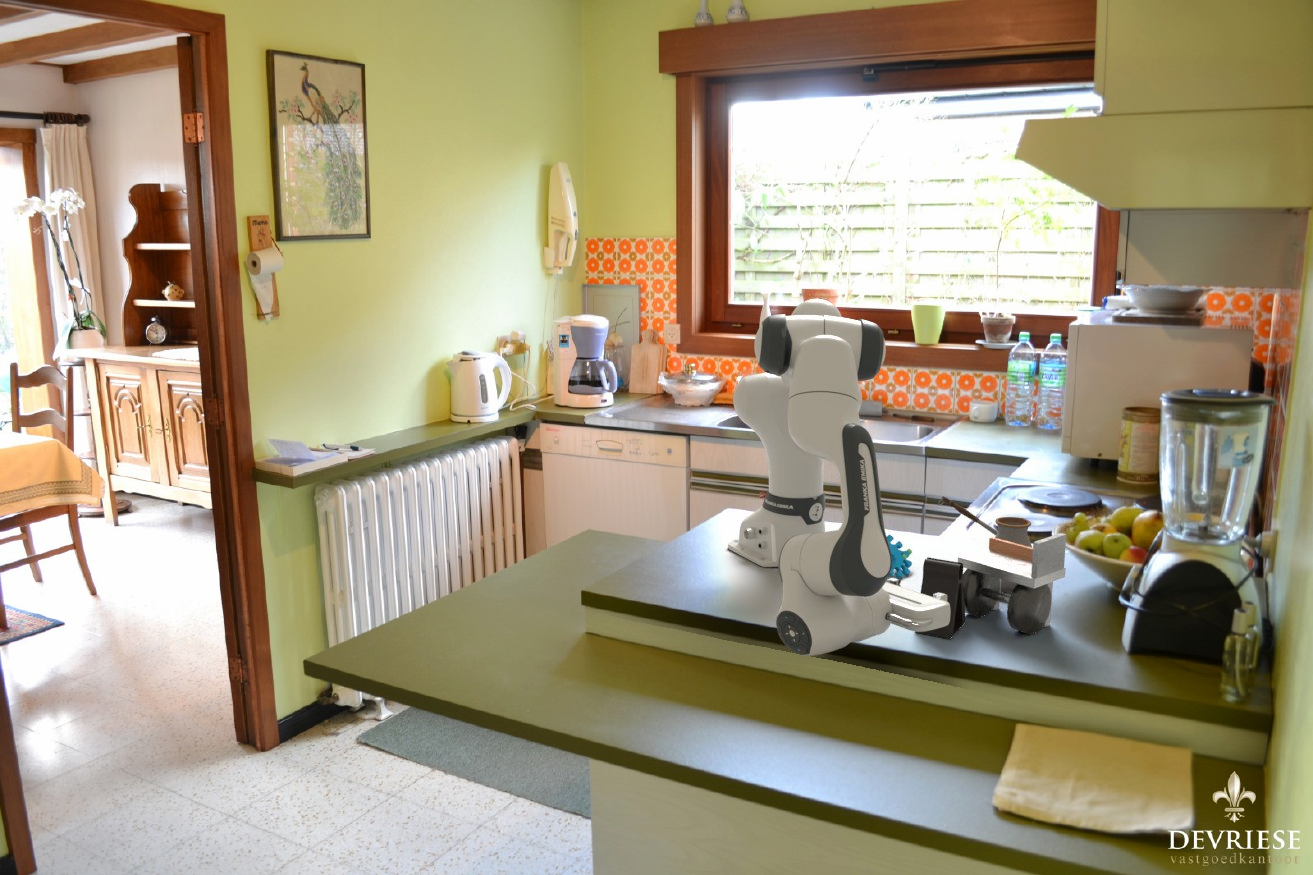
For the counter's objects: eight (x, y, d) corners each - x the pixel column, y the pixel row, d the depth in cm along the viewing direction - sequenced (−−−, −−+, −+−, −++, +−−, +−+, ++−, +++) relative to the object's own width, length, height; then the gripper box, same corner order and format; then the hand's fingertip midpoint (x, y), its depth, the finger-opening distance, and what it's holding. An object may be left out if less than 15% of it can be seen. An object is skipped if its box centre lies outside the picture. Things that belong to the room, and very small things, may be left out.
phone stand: (949, 640, 169) (952, 571, 166) (914, 632, 172) (917, 565, 170) (965, 622, 176) (969, 556, 174) (931, 616, 179) (934, 551, 177)
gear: (885, 576, 195) (864, 531, 200) (867, 591, 199) (846, 547, 204) (925, 573, 201) (904, 530, 206) (907, 588, 205) (886, 545, 210)
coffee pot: (1052, 586, 194) (1057, 510, 191) (1023, 601, 186) (1028, 522, 183) (951, 561, 209) (955, 490, 206) (921, 574, 201) (924, 501, 198)
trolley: (949, 616, 179) (954, 525, 176) (985, 602, 185) (990, 514, 182) (1025, 642, 167) (1031, 545, 164) (1061, 627, 174) (1068, 533, 170)
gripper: (918, 608, 151) (974, 588, 159) (817, 574, 167) (873, 557, 175) (916, 648, 152) (972, 626, 160) (816, 610, 168) (872, 592, 176)
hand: (919, 590), depth 168 cm, fingers open, 8 cm apart
